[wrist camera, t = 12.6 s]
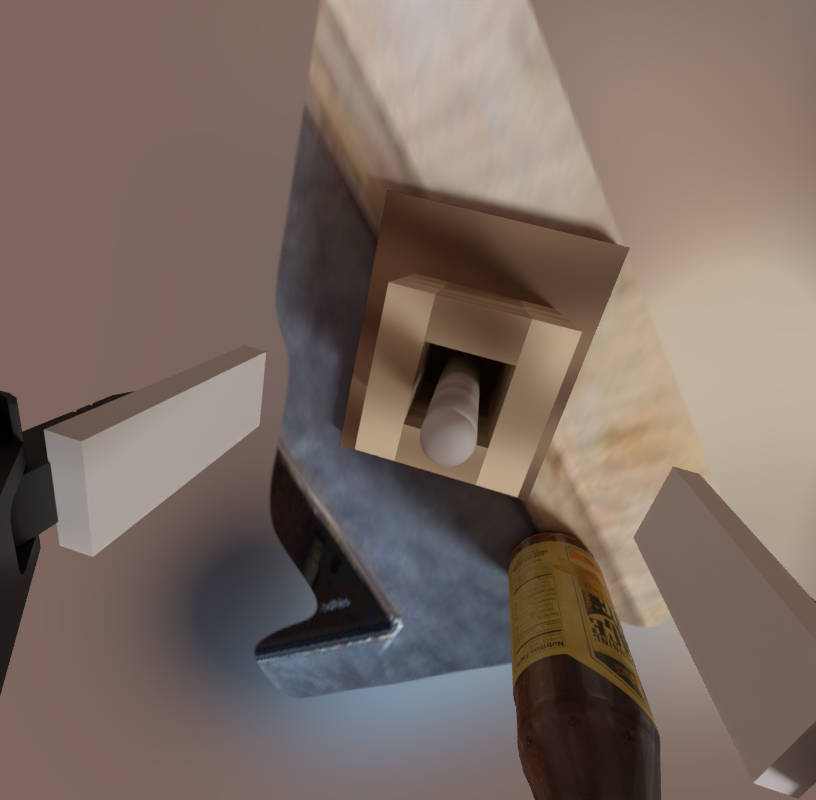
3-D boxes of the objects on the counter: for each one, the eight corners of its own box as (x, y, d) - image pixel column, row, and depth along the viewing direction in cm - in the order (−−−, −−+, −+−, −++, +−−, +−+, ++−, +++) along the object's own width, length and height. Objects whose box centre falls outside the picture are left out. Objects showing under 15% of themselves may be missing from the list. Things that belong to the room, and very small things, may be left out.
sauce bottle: (606, 586, 30) (798, 1124, 11) (521, 601, 32) (569, 1087, 13) (581, 512, 28) (758, 999, 10) (493, 532, 30) (503, 976, 12)
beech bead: (415, 273, 23) (388, 282, 17) (554, 309, 23) (582, 332, 16) (387, 400, 26) (354, 449, 20) (509, 435, 26) (517, 497, 19)
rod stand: (393, 193, 24) (288, 128, 11) (620, 248, 23) (787, 244, 10) (346, 436, 30) (243, 572, 17) (524, 489, 28) (555, 676, 16)
